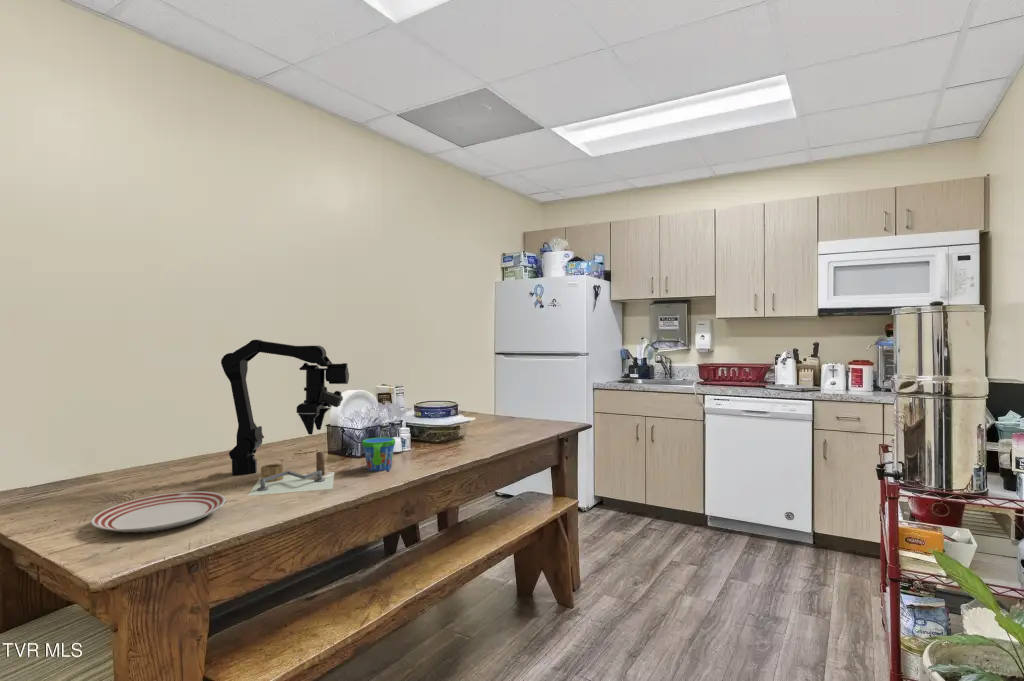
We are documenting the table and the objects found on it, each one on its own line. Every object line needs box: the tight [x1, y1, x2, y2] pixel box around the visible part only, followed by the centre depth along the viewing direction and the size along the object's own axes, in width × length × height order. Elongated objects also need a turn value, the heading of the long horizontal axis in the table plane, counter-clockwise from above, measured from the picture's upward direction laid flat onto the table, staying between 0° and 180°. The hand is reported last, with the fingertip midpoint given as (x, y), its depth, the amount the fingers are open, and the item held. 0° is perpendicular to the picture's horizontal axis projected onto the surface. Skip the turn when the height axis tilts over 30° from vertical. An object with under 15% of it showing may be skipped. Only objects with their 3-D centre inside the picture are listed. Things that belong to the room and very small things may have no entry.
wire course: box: [247, 470, 335, 497], centre depth 165 cm, size 22×21×4 cm
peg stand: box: [308, 451, 335, 480], centre depth 172 cm, size 8×8×7 cm
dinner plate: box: [90, 491, 226, 533], centre depth 135 cm, size 27×27×3 cm
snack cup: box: [361, 436, 396, 472], centre depth 182 cm, size 16×10×10 cm
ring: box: [260, 463, 284, 482], centre depth 169 cm, size 6×6×4 cm
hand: (314, 432), depth 180 cm, fingers open, 9 cm apart
